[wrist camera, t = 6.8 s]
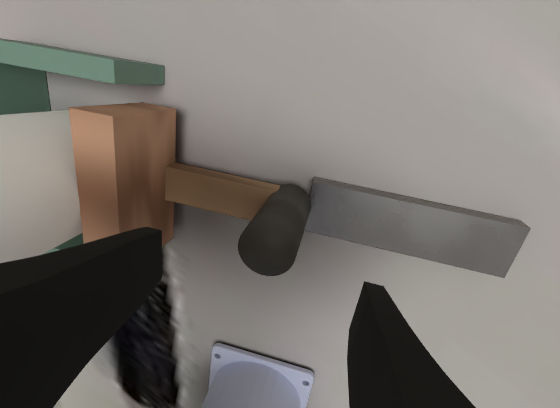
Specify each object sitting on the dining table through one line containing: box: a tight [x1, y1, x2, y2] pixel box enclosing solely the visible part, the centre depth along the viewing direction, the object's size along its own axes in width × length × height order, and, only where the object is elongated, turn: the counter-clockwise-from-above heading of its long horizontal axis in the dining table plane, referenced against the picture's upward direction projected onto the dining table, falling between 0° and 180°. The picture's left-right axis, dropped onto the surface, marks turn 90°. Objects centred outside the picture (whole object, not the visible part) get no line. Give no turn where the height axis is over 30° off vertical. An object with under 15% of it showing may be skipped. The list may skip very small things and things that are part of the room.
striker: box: [69, 102, 311, 276], centre depth 15 cm, size 8×10×5 cm
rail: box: [304, 177, 531, 278], centre depth 17 cm, size 3×11×1 cm, turn 81°
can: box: [0, 110, 83, 263], centre depth 14 cm, size 6×6×12 cm
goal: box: [0, 38, 164, 254], centre depth 18 cm, size 12×9×4 cm
